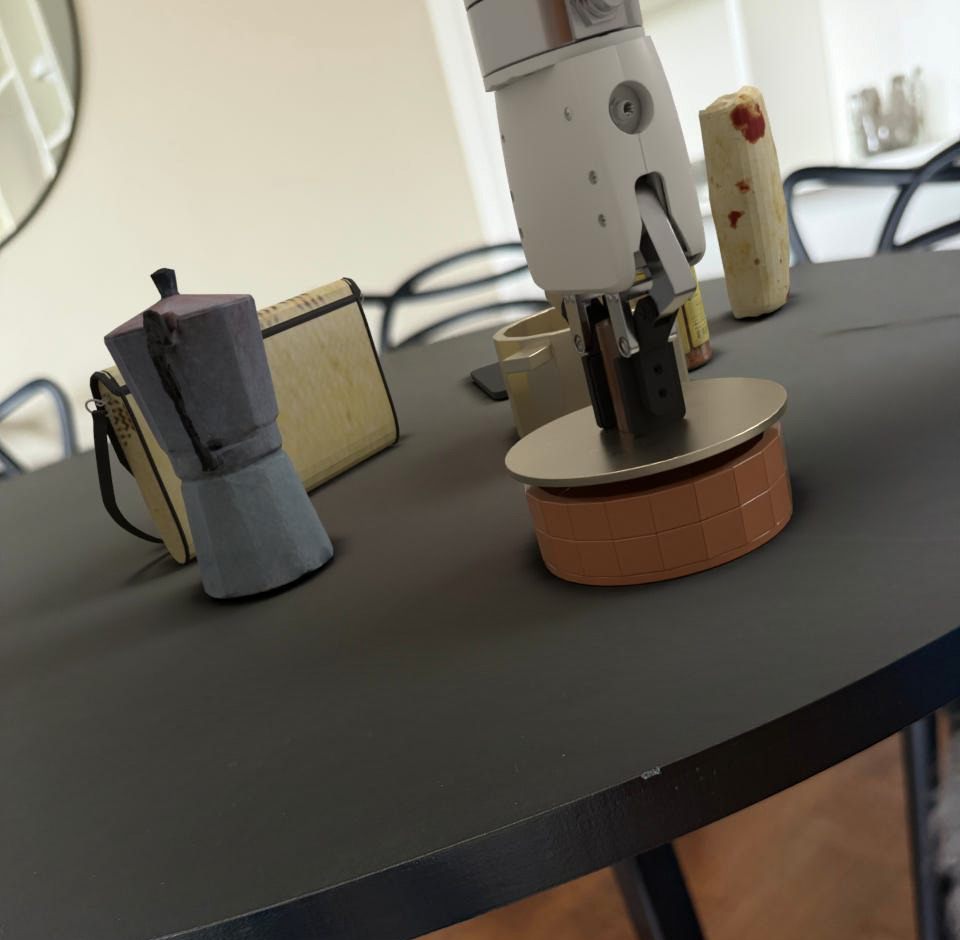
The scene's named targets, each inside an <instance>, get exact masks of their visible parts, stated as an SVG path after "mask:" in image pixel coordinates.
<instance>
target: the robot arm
mask: <svg viewBox="0 0 960 940" xmlns="http://www.w3.org/2000/svg"><path fill="white" fill-rule="evenodd" d="M463 4H464V9H465V12H466V18H467V22H468V27H469V31H470V34H471V39H472V42H473V46H474V51H475V56H476V58H477V63H478V66H479V67H478V68H479V71H480V75H481V78H482V83H483V86H484V92H485V93H493V92H494V100H495V101H494V103H495V110H496V117H497V125H498V131H499V138H500V145H501V150H502V157H503V162H504V168H505V174H506V178H507V183H508V190H509V194H510V198H511V203H512V208H513V213H514V217H515V222H516V228H517V231H518V235H519V239H520V244H521V246H522V250H523V254H524V258H525V261H526V264H527V268H528V271H529V273H530V276H531V278H532V281H533V283H534V284H535V285H536V287H538V288H540V289H541V290H542V291H543V293H544V295H545V299H546V301H547V302H548V304H550V305H551V306H552V307H555V308H556V309H557V310H559V311H560V312H561V314H562V316H563V317H564V318H565V320H566V321H567V323H568V324H569V327H570V331H571V336H572V341H573V345H574V348H575V350H576V351H577V353H578V354H580V355H583V354H586V353H588V354H587V355H584V356H582V357H581V360H582V364H583V368H584V372H585V377H586V381H587V385H588V390H589V394H590V398H591V402H592V407H593V411H594V415H595V419H596V424H597V426H598V427H599V428H603V429H610V428H612V427H615V426H617V421H616V417H615V412H614V408H613V404H612V399H611V395H610V390H609V386H608V381H607V377H606V373H605V368H604V364H603V359H602V355H601V350H600V346H599V342H598V337H597V333H596V328H595V325H596V324H597V323H599V322H600V321H603V320H605V319H608V318H611V322H612V326H613V330H614V334H615V338H616V342H617V346H618V349H619V352H620V354H621V355H622V356H621V357H618V358H615V359H613V363H614V367H615V372H616V376H617V381H618V385H619V390H620V394H621V399H622V403H623V408H624V412H625V417H626V421H627V426H628V430H629V432H630V433H631V434H632V435H637V436H641V435H644V434H646V433H649V432H651V431H654V430H656V429H659V428H661V427H663V426H666V425H668V424H671V423H673V422H676V421H678V420H680V419H682V418H683V417H684V416H685V414H686V407H685V402H684V397H683V392H682V387H681V382H680V376H679V371H678V366H677V361H676V356H675V351H674V346H673V341H674V340H675V339H676V338H677V327H676V322H675V319H676V317H677V314H678V311H679V308H680V307H681V306H682V305H683V304H684V303H685V302H686V301H687V300H688V299H689V298H690V297H691V296H692V295H693V294H694V293H695V292H696V289H697V283H696V279H695V277H694V275H693V272H692V270H691V268H690V267H691V266H694V267H695V266H696V265H697V264H699V263H700V262H701V261H702V260H703V258H704V256H705V253H706V250H707V249H706V248H707V241H706V234H705V227H704V222H703V216H702V211H701V206H700V201H699V196H698V191H697V186H696V183H695V178H694V174H693V170H692V165H691V161H690V156H689V153H688V148H687V143H686V140H685V136H684V132H683V128H682V125H681V120H680V117H679V113H678V110H677V106H676V103H675V100H674V96H673V94H672V91H671V86H670V84H669V81H668V78H667V75H666V72H665V70H664V66H663V63H662V61H661V58H660V56H659V54H658V51H657V49H656V46H655V43H654V41H653V39H652V36H651V35H646V31H645V27H644V21H643V15H642V10H641V4H640V0H463ZM638 272H644V274H645V279H642V280H639V281H636V282H635V279H636V275H637V274H638ZM645 294H646V295H647V296H646V297H644V298H641V299H639V300H638V301H637V304H636V307H635V310H634V313H633V315H632V311H631V307H630V302H629V300H632V299H634V298H637V297H640V296H643V295H645ZM600 296H602V301H603V305H602V303H601V302H600V300H599V299H598V297H600Z"/></svg>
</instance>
